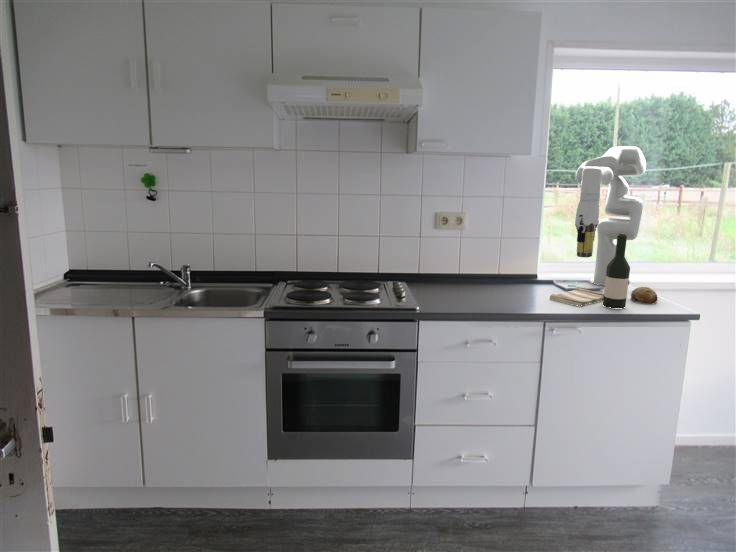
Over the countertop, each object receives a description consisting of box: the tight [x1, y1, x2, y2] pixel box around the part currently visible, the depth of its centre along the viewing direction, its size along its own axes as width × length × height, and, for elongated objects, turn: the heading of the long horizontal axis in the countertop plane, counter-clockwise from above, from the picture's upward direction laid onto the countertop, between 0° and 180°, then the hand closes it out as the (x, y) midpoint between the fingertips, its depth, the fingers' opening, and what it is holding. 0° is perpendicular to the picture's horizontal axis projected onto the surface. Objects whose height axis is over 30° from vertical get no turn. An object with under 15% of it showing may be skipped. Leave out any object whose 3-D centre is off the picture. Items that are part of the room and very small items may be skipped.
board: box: [549, 287, 604, 307], centre depth 217 cm, size 22×14×2 cm, turn 125°
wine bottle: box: [602, 233, 631, 309], centre depth 203 cm, size 8×8×30 cm
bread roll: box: [630, 286, 658, 305], centre depth 215 cm, size 10×10×8 cm
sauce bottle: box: [576, 223, 595, 258], centre depth 211 cm, size 6×6×20 cm
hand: (585, 240), depth 212 cm, fingers closed on sauce bottle, 6 cm apart
